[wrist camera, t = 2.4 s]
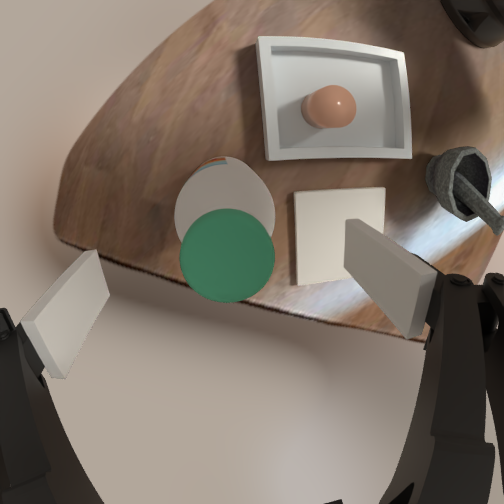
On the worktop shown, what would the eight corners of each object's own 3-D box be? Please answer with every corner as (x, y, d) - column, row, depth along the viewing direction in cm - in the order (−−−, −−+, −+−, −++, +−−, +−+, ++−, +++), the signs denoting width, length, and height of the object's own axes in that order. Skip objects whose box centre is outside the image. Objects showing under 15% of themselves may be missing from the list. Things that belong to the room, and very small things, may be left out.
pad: (382, 186, 33) (385, 187, 33) (376, 270, 38) (379, 273, 37) (293, 191, 33) (295, 192, 32) (296, 283, 37) (297, 286, 36)
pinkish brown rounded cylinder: (336, 92, 28) (354, 86, 23) (338, 128, 30) (357, 128, 25) (299, 91, 28) (313, 83, 23) (302, 128, 29) (316, 127, 25)
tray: (393, 56, 27) (403, 52, 24) (400, 156, 32) (411, 158, 30) (255, 43, 25) (258, 36, 23) (265, 159, 31) (269, 160, 28)
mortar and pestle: (407, 161, 32) (470, 177, 21) (446, 131, 31) (508, 140, 20) (432, 226, 36) (486, 258, 25) (467, 194, 35) (522, 217, 24)
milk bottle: (250, 149, 30) (297, 165, 12) (262, 215, 33) (314, 312, 15) (182, 164, 30) (125, 203, 12) (197, 228, 33) (174, 341, 15)
